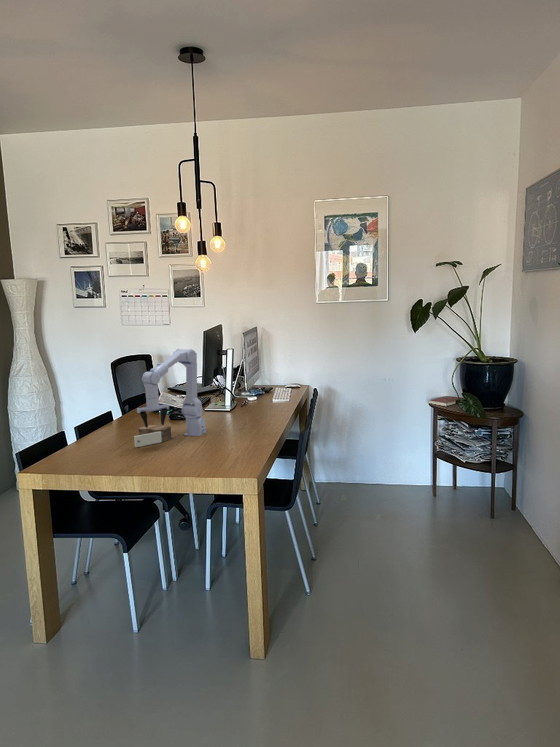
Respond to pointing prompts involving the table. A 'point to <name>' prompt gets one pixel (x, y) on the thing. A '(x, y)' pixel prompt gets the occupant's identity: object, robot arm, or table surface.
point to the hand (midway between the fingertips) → (154, 425)
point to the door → (148, 439)
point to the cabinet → (156, 428)
